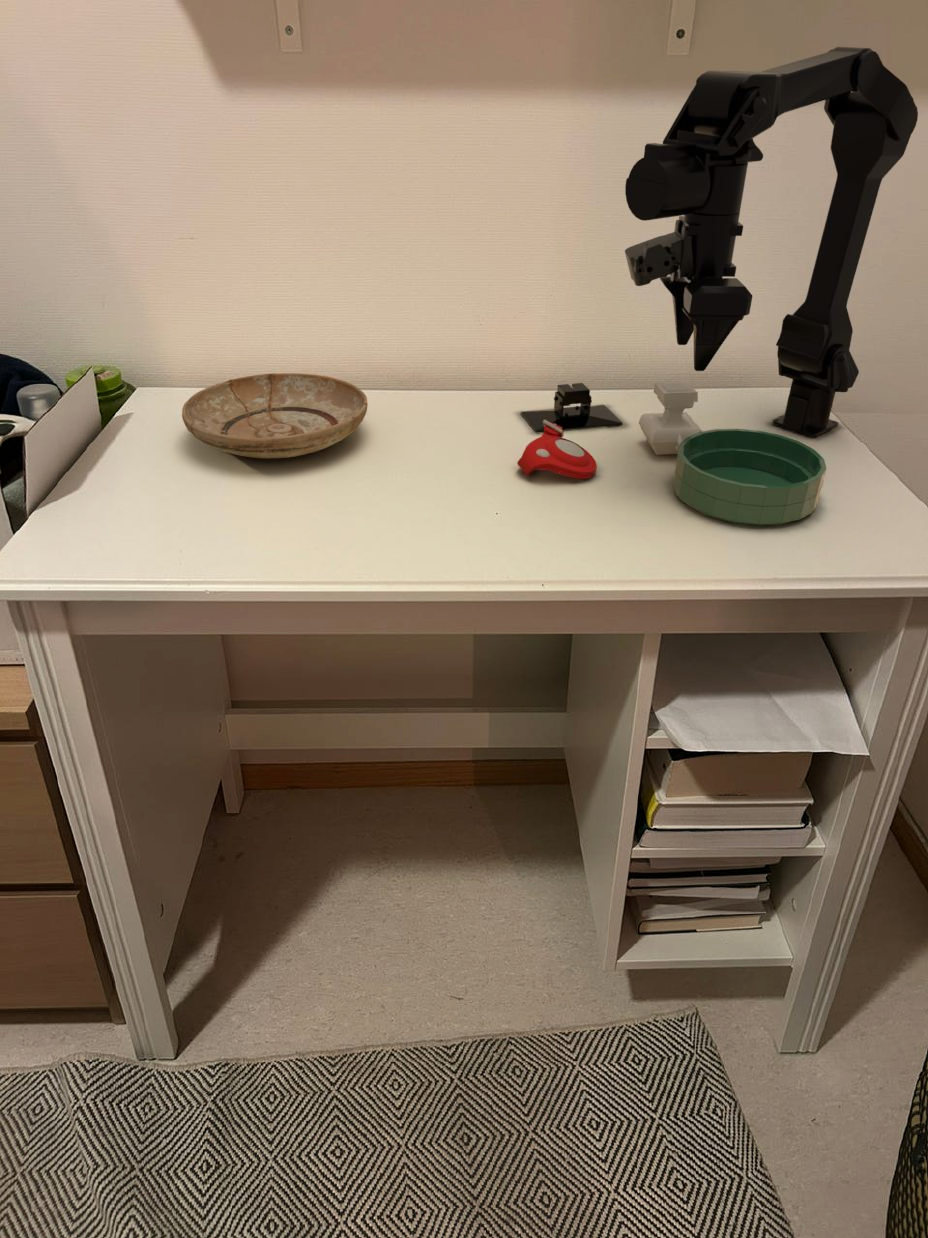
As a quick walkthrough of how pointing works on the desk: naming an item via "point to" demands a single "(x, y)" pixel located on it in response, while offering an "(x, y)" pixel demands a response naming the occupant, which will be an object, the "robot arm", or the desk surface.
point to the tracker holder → (557, 455)
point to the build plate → (572, 411)
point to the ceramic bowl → (275, 414)
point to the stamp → (670, 417)
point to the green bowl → (748, 476)
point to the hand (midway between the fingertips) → (690, 356)
